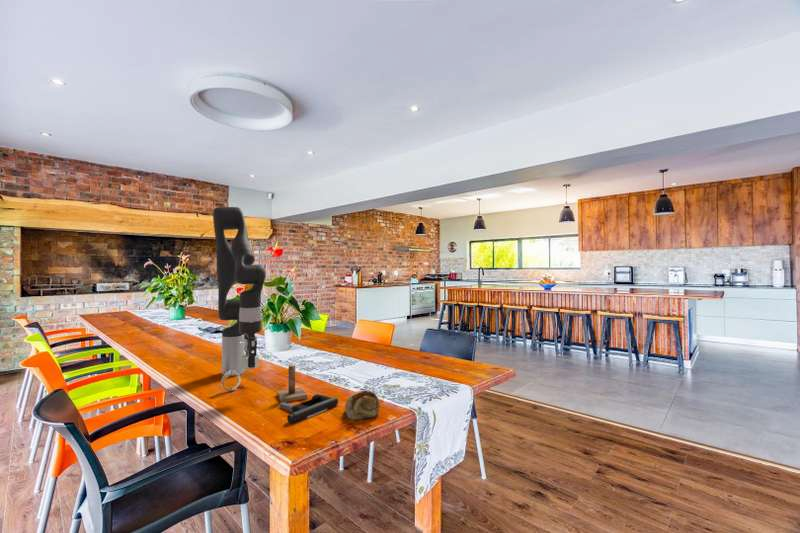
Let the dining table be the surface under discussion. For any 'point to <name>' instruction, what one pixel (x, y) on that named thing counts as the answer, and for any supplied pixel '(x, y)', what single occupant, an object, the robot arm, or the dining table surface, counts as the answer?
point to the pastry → (362, 405)
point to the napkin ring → (245, 362)
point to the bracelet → (227, 377)
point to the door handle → (309, 407)
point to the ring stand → (291, 389)
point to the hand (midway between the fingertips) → (250, 364)
